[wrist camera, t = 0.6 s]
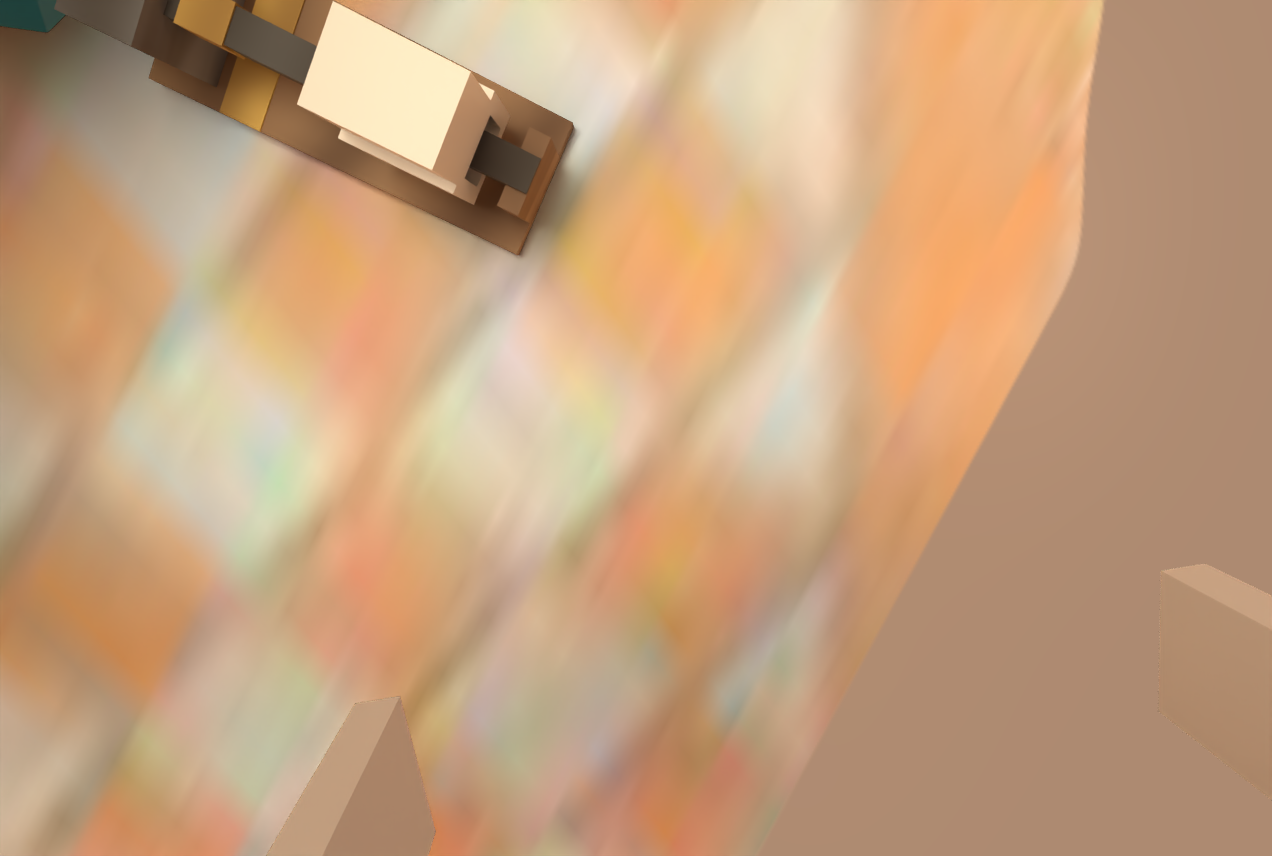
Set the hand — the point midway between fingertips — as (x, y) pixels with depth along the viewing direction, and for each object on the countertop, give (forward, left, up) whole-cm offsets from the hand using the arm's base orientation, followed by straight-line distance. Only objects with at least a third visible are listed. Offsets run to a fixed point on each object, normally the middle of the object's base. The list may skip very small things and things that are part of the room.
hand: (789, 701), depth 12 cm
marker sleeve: (-16, +8, -24) cm, 30 cm away
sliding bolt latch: (-20, +8, -27) cm, 34 cm away
